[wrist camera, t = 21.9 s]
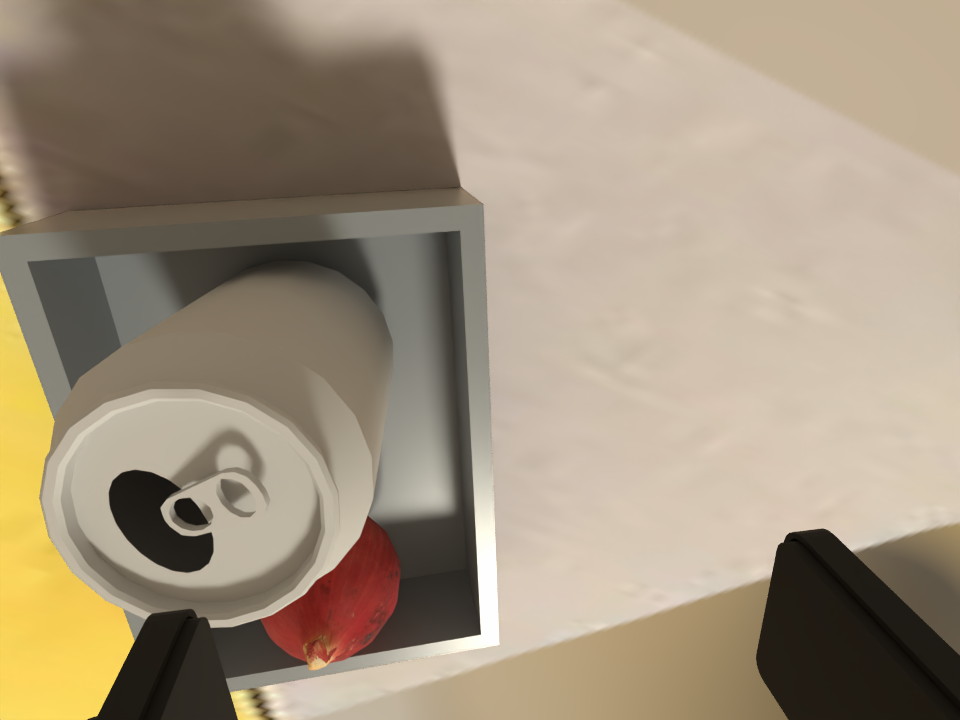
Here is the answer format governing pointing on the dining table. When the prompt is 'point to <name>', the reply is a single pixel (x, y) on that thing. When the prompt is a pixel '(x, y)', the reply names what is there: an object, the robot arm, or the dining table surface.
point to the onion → (342, 604)
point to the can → (225, 448)
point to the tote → (414, 388)
